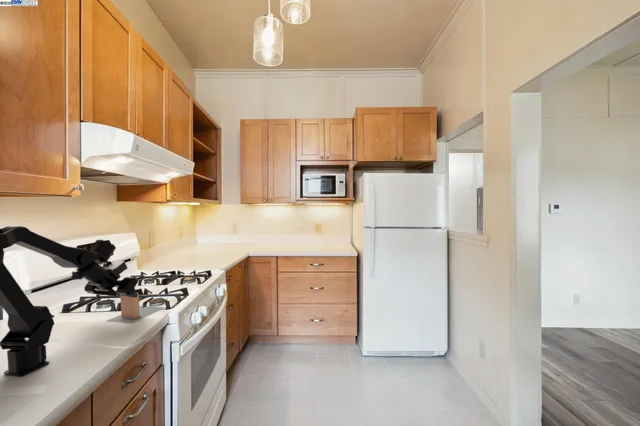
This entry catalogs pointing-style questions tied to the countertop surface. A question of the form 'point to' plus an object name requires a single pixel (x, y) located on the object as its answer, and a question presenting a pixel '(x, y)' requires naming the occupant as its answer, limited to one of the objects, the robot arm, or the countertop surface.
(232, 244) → the countertop surface
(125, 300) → the tan flat block
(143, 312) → the mat
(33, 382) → the countertop surface
